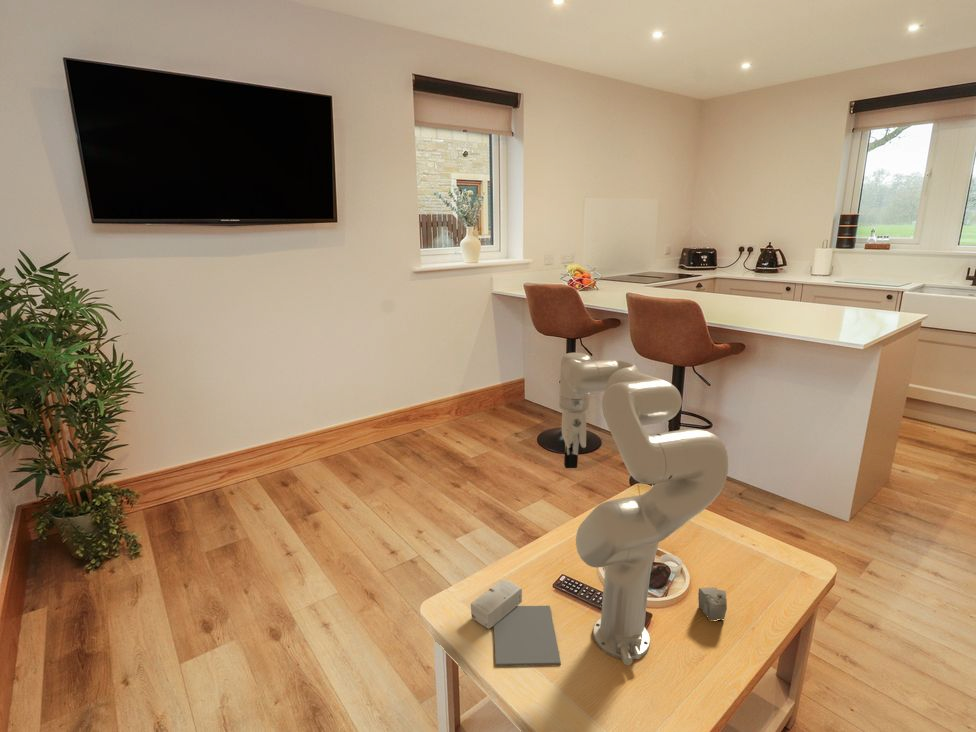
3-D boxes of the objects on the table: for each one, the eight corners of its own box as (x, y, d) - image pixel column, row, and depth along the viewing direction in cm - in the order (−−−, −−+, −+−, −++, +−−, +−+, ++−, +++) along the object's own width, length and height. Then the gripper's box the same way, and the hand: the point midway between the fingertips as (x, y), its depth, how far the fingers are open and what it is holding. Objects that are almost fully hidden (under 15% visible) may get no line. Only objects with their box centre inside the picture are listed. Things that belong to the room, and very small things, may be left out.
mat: (560, 664, 113) (560, 662, 112) (495, 666, 112) (495, 663, 112) (549, 607, 129) (549, 605, 129) (492, 608, 128) (493, 606, 128)
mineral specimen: (685, 605, 129) (695, 577, 127) (717, 609, 130) (727, 581, 128) (700, 627, 122) (711, 597, 120) (734, 631, 123) (744, 602, 121)
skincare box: (522, 587, 128) (489, 613, 120) (522, 602, 129) (489, 630, 121) (503, 577, 132) (469, 602, 124) (503, 592, 134) (470, 618, 125)
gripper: (595, 412, 126) (590, 480, 131) (582, 391, 140) (579, 454, 145) (564, 412, 126) (561, 480, 131) (555, 391, 140) (552, 454, 145)
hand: (570, 466), depth 138 cm, fingers closed
